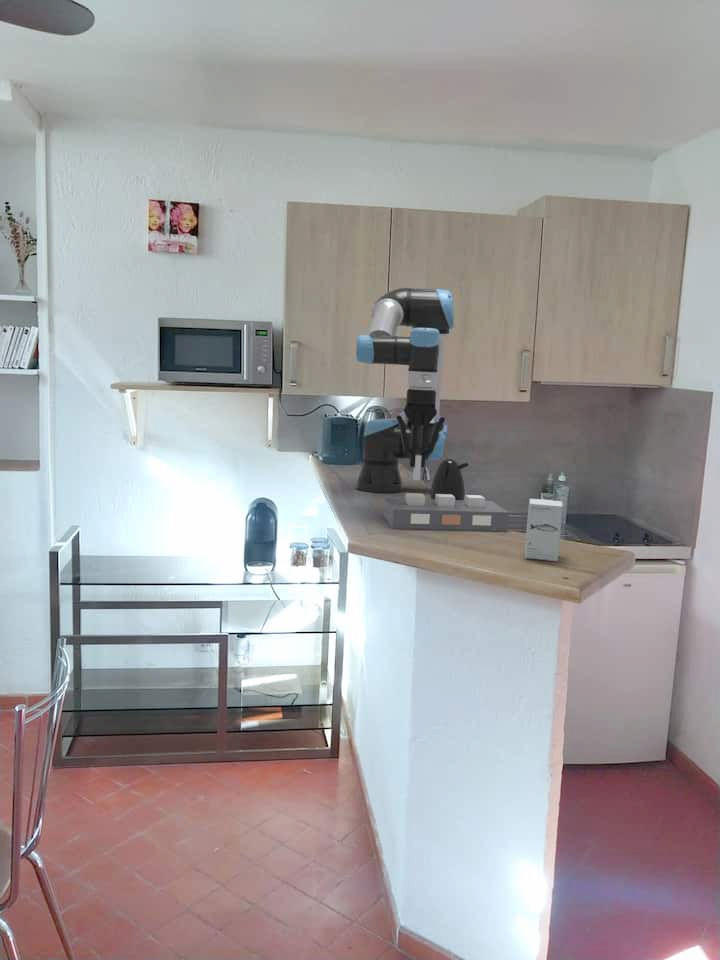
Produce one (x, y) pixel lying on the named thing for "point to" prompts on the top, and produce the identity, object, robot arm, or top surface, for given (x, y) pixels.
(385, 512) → the console
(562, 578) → the top surface
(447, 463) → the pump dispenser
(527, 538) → the supplement box
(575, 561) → the top surface
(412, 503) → the button
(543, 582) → the top surface
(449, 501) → the button
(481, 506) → the button
